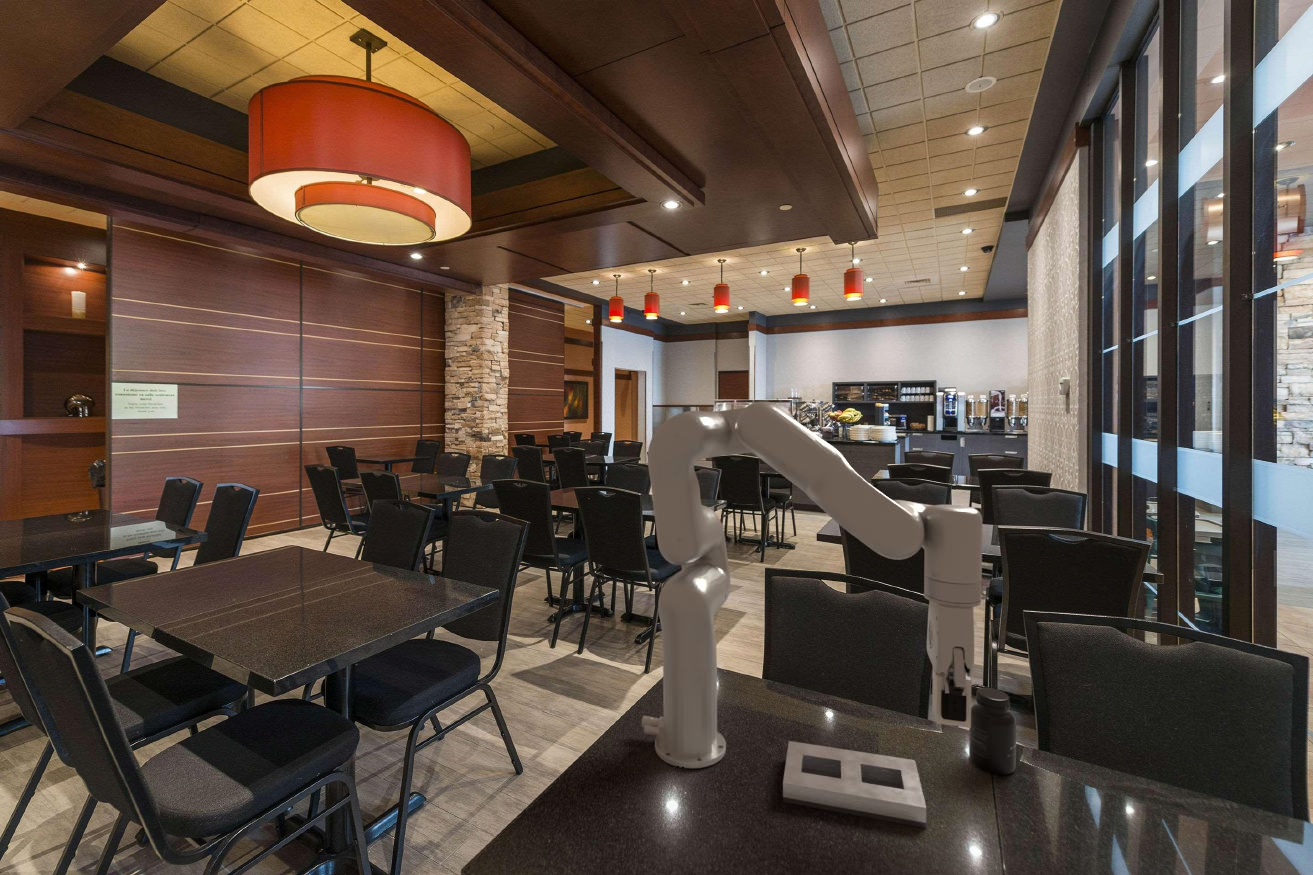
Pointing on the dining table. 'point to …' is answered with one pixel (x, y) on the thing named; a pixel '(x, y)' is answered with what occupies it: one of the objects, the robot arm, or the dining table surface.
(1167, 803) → the dining table surface
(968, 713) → the plug
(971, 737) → the supplement bottle
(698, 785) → the dining table surface
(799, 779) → the socket board
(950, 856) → the dining table surface
